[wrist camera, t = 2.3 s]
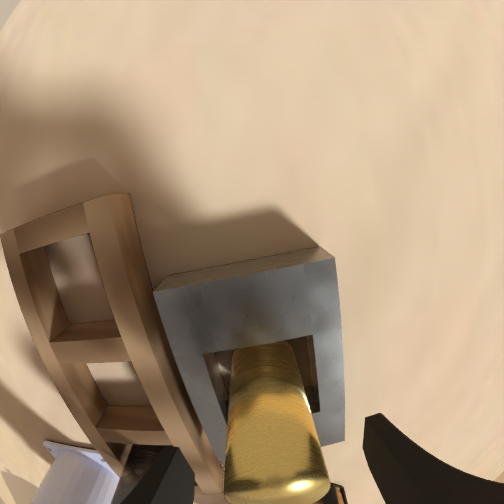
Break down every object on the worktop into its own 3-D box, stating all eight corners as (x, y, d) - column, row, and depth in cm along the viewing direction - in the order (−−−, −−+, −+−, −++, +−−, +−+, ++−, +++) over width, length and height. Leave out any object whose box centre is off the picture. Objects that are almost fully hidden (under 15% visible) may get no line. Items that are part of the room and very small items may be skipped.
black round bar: (188, 456, 18) (172, 551, 9) (147, 455, 18) (121, 542, 9) (172, 427, 17) (145, 532, 8) (128, 427, 17) (91, 520, 8)
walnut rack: (223, 470, 18) (222, 493, 16) (135, 468, 18) (128, 489, 16) (129, 193, 14) (108, 194, 11) (25, 228, 14) (-1, 234, 11)
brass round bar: (297, 378, 16) (330, 503, 7) (239, 389, 16) (237, 516, 7) (290, 328, 15) (330, 457, 7) (225, 340, 16) (210, 474, 7)
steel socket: (335, 416, 17) (344, 440, 15) (221, 435, 17) (218, 461, 15) (320, 246, 15) (334, 257, 12) (166, 275, 15) (153, 291, 12)
